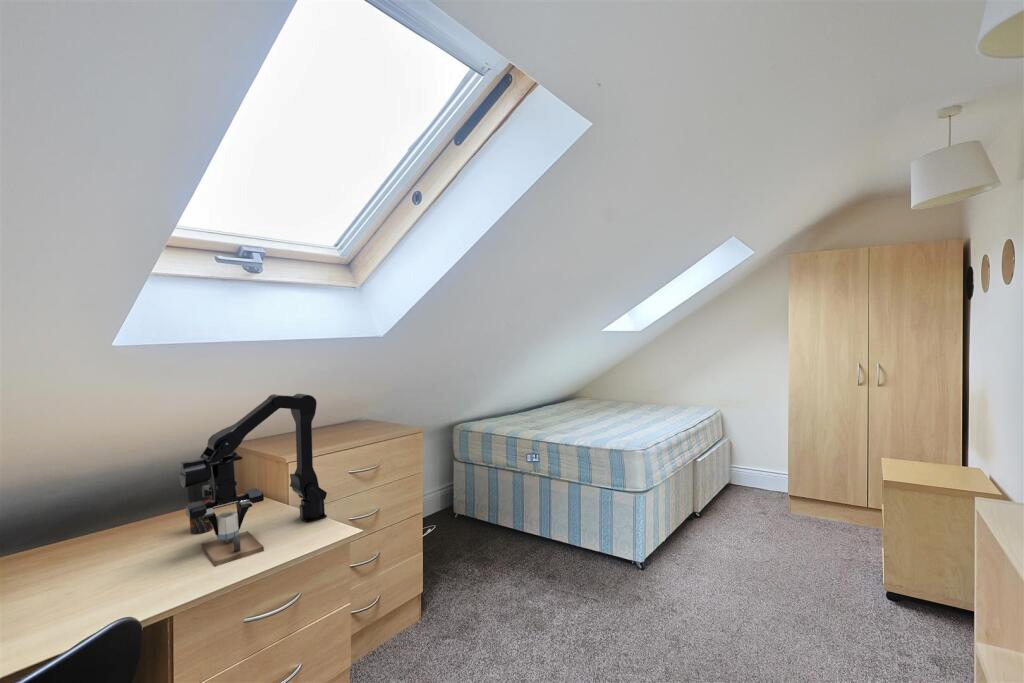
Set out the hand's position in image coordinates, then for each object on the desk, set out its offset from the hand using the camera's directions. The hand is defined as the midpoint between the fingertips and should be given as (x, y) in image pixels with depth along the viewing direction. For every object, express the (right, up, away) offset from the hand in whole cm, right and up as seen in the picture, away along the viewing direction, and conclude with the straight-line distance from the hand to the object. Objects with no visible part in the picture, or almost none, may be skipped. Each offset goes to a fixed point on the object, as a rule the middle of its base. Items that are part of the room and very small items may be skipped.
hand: (227, 532), depth 148 cm
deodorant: (-14, -4, +11) cm, 19 cm away
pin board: (+3, -4, -3) cm, 5 cm away
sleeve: (0, -1, 0) cm, 1 cm away
